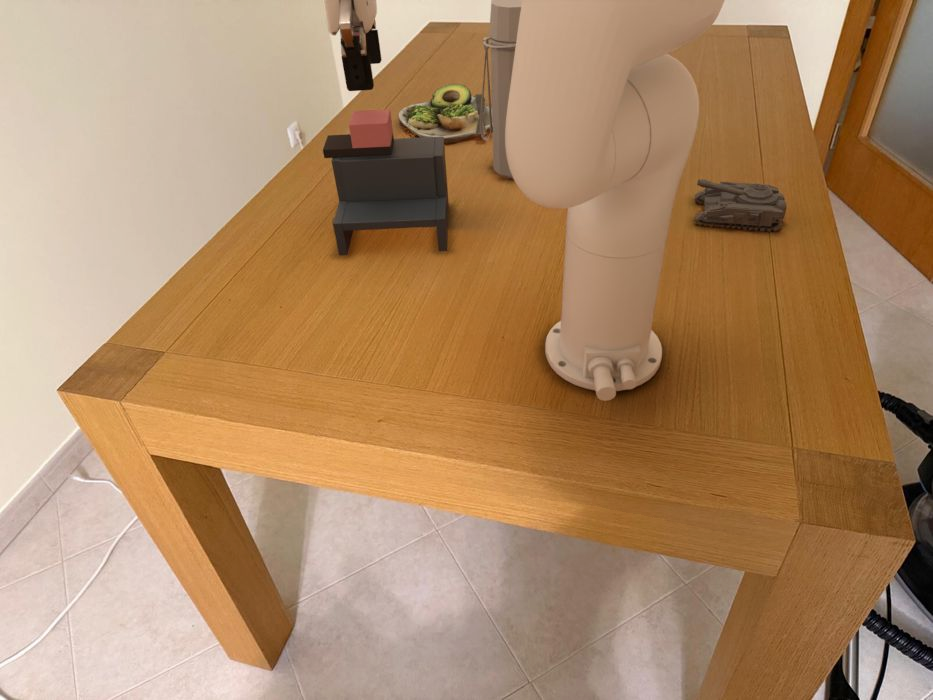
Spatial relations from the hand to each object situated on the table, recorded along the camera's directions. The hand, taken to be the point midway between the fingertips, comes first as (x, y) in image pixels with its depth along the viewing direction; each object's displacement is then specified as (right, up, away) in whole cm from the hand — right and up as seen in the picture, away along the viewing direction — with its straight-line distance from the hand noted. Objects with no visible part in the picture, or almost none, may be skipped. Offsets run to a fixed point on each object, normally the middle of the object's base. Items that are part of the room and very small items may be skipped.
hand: (365, 75), depth 85 cm
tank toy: (+51, -16, +10) cm, 54 cm away
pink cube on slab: (-2, -7, +7) cm, 10 cm away
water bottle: (+20, -6, +24) cm, 32 cm away
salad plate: (+10, +7, +39) cm, 41 cm away
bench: (+3, -17, +12) cm, 21 cm away
